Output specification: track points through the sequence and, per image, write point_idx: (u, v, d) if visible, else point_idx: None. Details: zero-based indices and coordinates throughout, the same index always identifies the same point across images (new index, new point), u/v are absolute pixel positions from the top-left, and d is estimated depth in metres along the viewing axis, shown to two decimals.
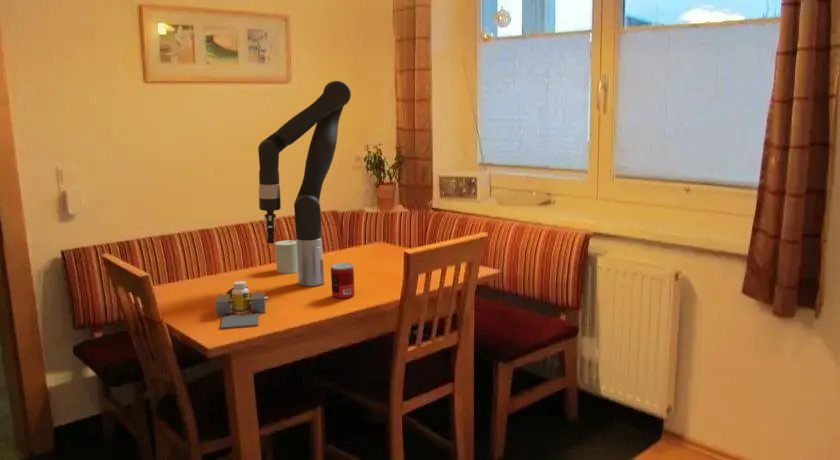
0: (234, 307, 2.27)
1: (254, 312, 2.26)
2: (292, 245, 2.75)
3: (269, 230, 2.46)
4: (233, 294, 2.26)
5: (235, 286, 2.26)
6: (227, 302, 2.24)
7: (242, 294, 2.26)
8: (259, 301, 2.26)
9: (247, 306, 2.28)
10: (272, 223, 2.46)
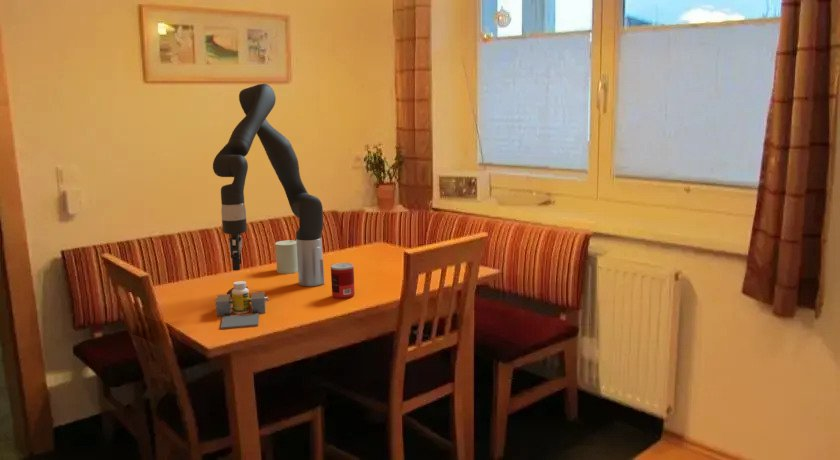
0: (234, 307, 2.27)
1: (254, 312, 2.26)
2: (292, 245, 2.75)
3: (233, 256, 2.19)
4: (233, 294, 2.26)
5: (235, 286, 2.26)
6: (227, 302, 2.24)
7: (242, 294, 2.26)
8: (259, 301, 2.26)
9: (247, 306, 2.28)
10: (236, 248, 2.19)
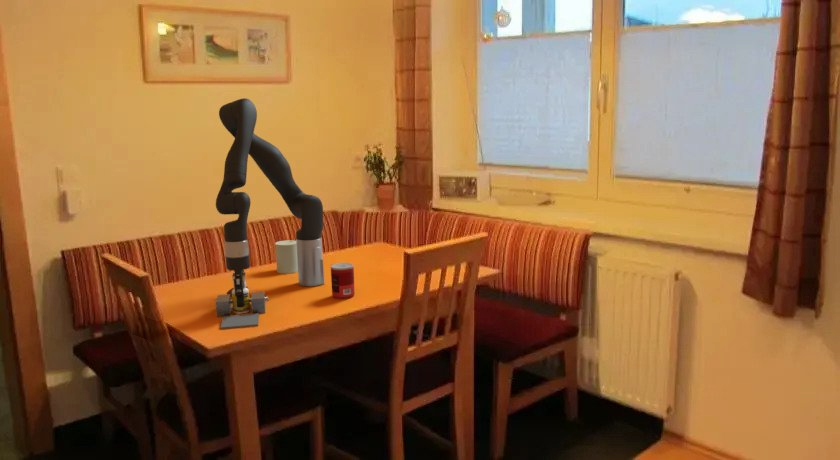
0: (234, 307, 2.27)
1: (254, 312, 2.26)
2: (292, 245, 2.75)
3: (238, 294, 2.22)
4: (233, 294, 2.26)
5: None
6: (227, 302, 2.24)
7: None
8: (259, 301, 2.26)
9: (247, 306, 2.28)
10: (241, 287, 2.22)
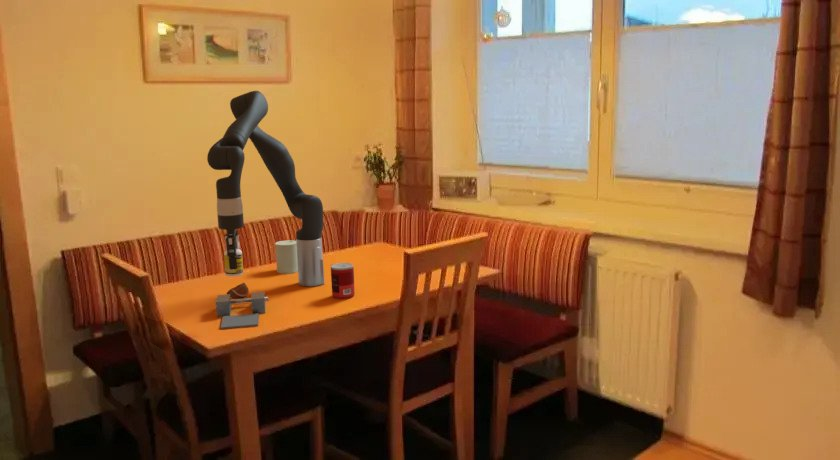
0: (226, 269, 2.14)
1: (254, 312, 2.26)
2: (292, 245, 2.75)
3: (230, 254, 2.09)
4: (225, 255, 2.13)
5: None
6: (227, 302, 2.24)
7: None
8: (259, 301, 2.26)
9: (240, 268, 2.14)
10: (233, 247, 2.08)
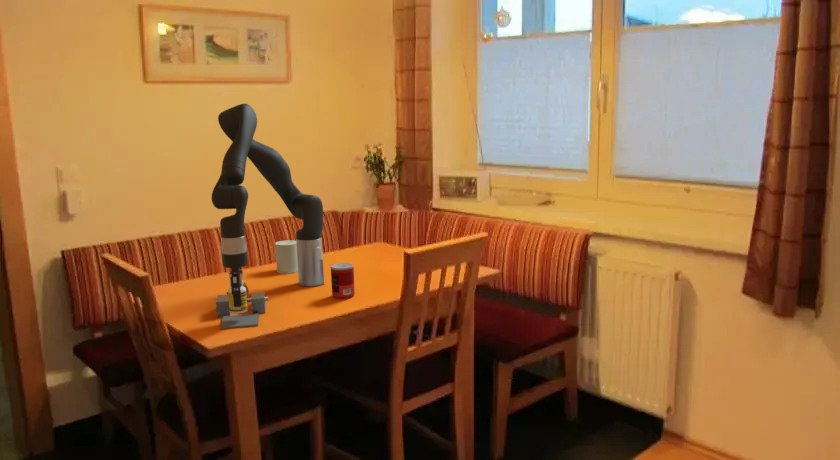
0: (230, 306, 2.16)
1: (254, 312, 2.26)
2: (292, 245, 2.75)
3: (234, 292, 2.11)
4: (229, 293, 2.15)
5: None
6: (227, 302, 2.24)
7: None
8: (259, 301, 2.26)
9: (244, 305, 2.17)
10: (237, 285, 2.10)
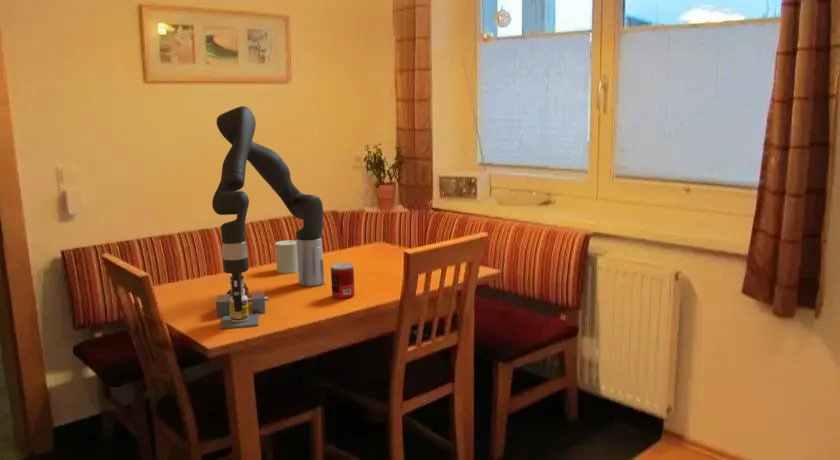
0: (232, 315, 2.16)
1: (254, 312, 2.26)
2: (292, 245, 2.75)
3: (235, 297, 2.10)
4: (231, 302, 2.16)
5: None
6: (227, 302, 2.24)
7: None
8: (259, 301, 2.26)
9: (246, 314, 2.17)
10: (238, 289, 2.10)
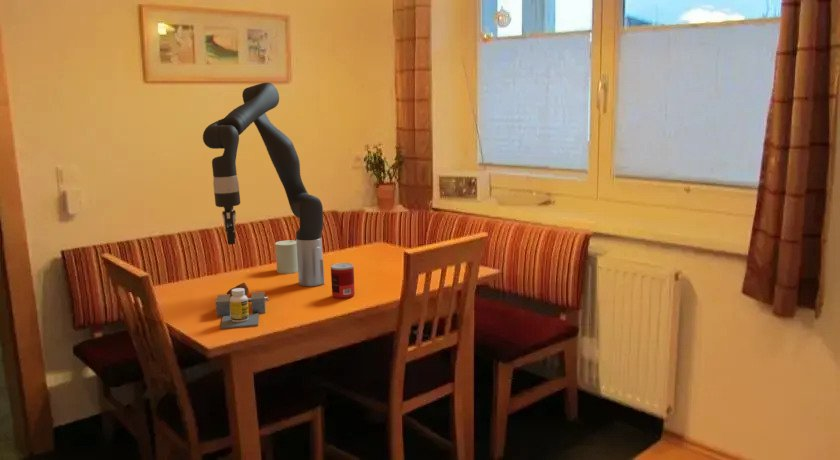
0: (232, 315, 2.16)
1: (254, 312, 2.26)
2: (292, 245, 2.75)
3: (228, 229, 2.13)
4: (231, 302, 2.16)
5: (233, 293, 2.16)
6: (227, 302, 2.24)
7: (241, 302, 2.15)
8: (259, 301, 2.26)
9: (246, 314, 2.17)
10: (231, 221, 2.13)
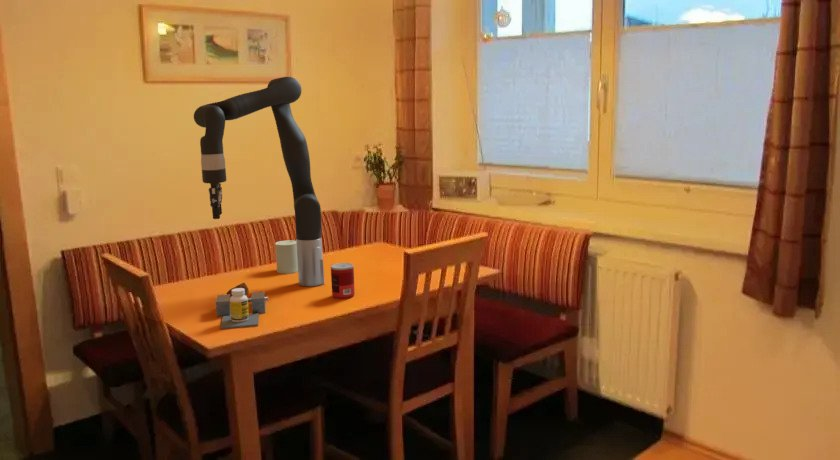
0: (232, 315, 2.16)
1: (254, 312, 2.26)
2: (292, 245, 2.75)
3: (213, 204, 2.24)
4: (231, 302, 2.16)
5: (233, 293, 2.16)
6: (227, 302, 2.24)
7: (241, 302, 2.15)
8: (259, 301, 2.26)
9: (246, 314, 2.17)
10: (216, 196, 2.24)
